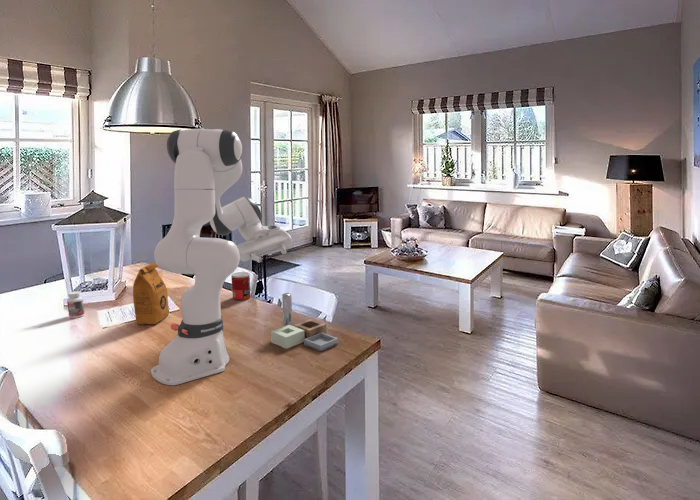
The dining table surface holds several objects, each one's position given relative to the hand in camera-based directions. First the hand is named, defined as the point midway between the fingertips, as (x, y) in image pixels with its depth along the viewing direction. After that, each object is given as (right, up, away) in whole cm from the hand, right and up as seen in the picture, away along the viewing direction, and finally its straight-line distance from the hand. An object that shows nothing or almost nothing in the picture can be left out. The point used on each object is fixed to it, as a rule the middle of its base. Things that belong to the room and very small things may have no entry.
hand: (272, 256), depth 162 cm
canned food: (-21, -19, +40) cm, 49 cm away
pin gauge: (+5, -27, +1) cm, 28 cm away
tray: (+18, -29, -10) cm, 36 cm away
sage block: (+7, -29, -8) cm, 31 cm away
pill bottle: (-81, -24, +19) cm, 87 cm away
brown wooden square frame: (+14, -28, -2) cm, 31 cm away
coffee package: (-48, -25, +13) cm, 56 cm away
